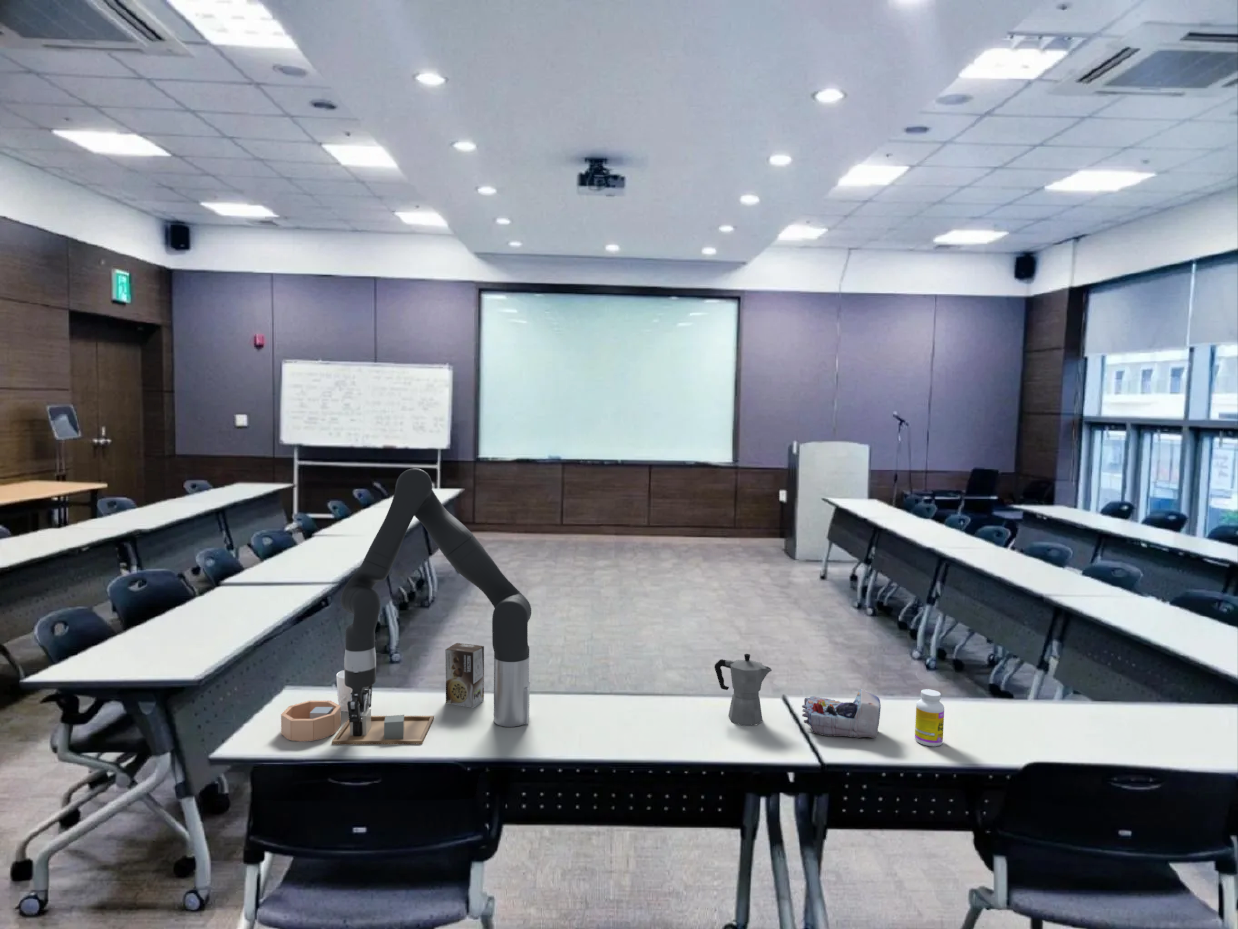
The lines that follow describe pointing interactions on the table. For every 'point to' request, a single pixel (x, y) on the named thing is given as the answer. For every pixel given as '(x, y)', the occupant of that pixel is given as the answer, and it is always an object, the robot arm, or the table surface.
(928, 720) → the supplement bottle
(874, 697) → the cell model
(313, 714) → the pale blue cube
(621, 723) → the table surface
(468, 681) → the coffee box
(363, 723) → the pale grey cube
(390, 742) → the walnut tray
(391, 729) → the medium grey cube
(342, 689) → the white cup
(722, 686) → the coffeepot
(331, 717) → the terracotta bowl
